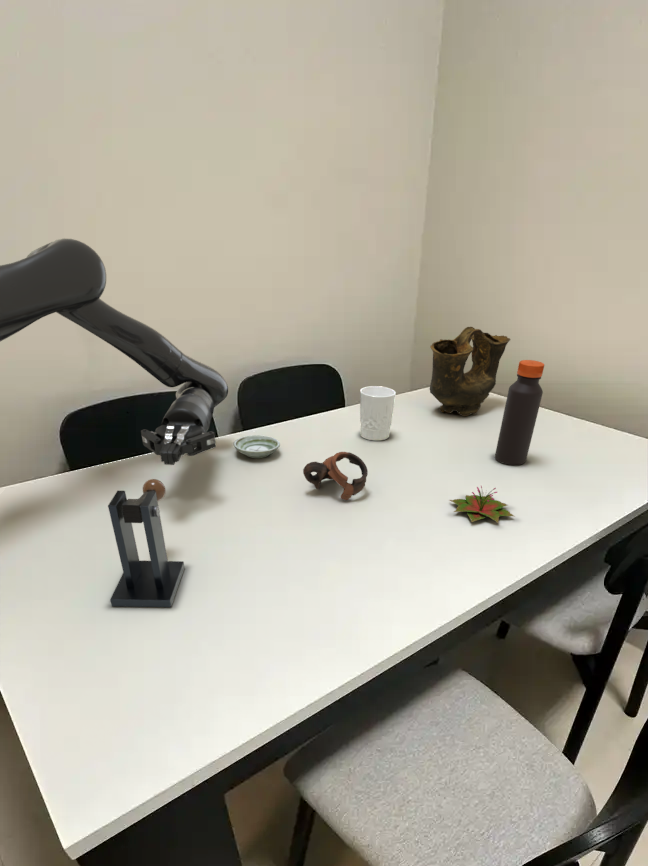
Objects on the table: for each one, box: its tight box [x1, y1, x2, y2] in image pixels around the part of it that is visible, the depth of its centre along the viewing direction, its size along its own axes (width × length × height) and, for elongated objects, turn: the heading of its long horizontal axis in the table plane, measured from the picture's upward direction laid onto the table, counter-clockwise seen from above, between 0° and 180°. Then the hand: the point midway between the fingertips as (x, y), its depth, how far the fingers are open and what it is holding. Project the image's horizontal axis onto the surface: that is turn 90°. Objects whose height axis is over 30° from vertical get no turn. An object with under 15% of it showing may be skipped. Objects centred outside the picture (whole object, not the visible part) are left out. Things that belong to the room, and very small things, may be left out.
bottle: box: [494, 359, 545, 466], centre depth 121 cm, size 7×7×20 cm
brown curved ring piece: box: [302, 451, 369, 501], centre depth 109 cm, size 12×10×8 cm
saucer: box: [233, 434, 281, 459], centre depth 123 cm, size 10×10×2 cm
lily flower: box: [449, 485, 516, 524], centre depth 106 cm, size 12×12×5 cm
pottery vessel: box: [429, 326, 511, 417], centre depth 147 cm, size 25×11×20 cm, turn 132°
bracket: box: [107, 490, 186, 608], centre depth 79 cm, size 10×8×14 cm
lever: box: [122, 478, 167, 524], centre depth 81 cm, size 13×3×3 cm, turn 2°
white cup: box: [359, 385, 397, 441], centre depth 132 cm, size 8×8×10 cm
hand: (168, 459), depth 92 cm, fingers closed
